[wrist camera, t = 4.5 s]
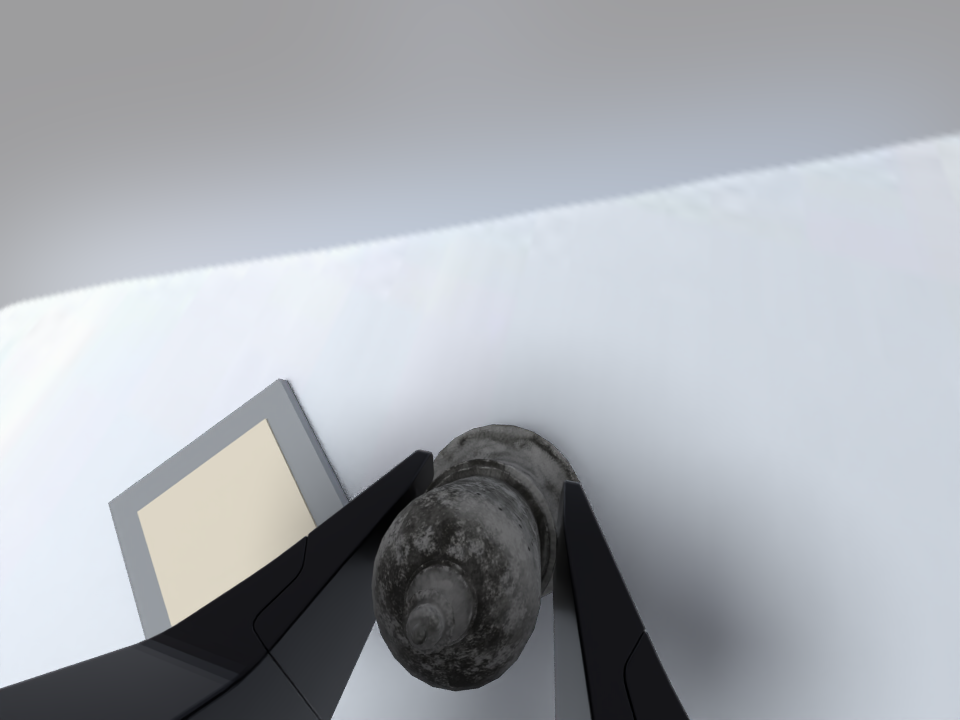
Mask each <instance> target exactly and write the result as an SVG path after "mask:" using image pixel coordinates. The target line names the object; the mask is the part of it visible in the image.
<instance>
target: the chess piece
mask: <svg viewBox="0 0 960 720" xmlns="http://www.w3.org/2000/svg"><path fill="white" fill-rule="evenodd" d="M433 464H434V477H433V481H432V482H431V483H430V485H429V486H428V488H427V489H426V491H425V493H424V494H423V495H421V496H419V497H417V498H415V499H414V500H413V501H412V502H411V503H409V504H408V505H407V506H406V507H405V508H404V509H403V510H402V511H401V512H400V513H399V514H398V515H397V517H396V518H395V519H394V521H393V523H392V524H391V526H390V527H389V529H388V530H387V532H386V534H385V535H384V537H383V538H382V541H381V544H380V546H379V549H378V552H377V555H376V558H375V561H374V568H373V576H372V585H371V587H372V598H373V609H374V614H375V617H376V620H377V623H378V627H379V630H380V633H381V636H382V638H383V639H384V641H385V643H386V644H387V646H388V648H389V649H390V651H391V653H392V655H393V656H394V658H395V659H396V660H397V661H398V662H399V663H400V664H401V665H402V666H403V667H404V668H405V669H406V670H407V671H408V672H409V673H410V674H411V675H412V676H414V677H416V678H418V679H420V680H421V681H423V682H425V683H427V684H428V685H430V686H432V687H436V688H441V689H446V690H451V691H461V690H469V689H476V688H480V687H482V686H484V685H485V684H487V683H489V682H491V681H493V680H495V679H497V678H499V677H500V676H501V675H502V674H503V673H504V672H505V671H506V670H507V669H508V668H509V667H510V666H511V665H512V664H513V663H514V662H515V661H516V660H517V659H518V657H519V656H520V654H521V652H522V650H523V648H524V647H525V645H526V643H527V641H528V639H529V638H530V636H531V634H532V632H533V630H534V628H535V624H536V620H537V616H538V612H539V608H540V604H541V597H543V596H545V595H547V594H549V593H551V592H552V591H553V570H554V566H555V562H556V550H557V533H556V527H557V516H558V506H559V500H560V495H561V490H562V485H563V482H564V480H569V481H574V482H578V483H580V482H579V480H578V478H577V476H576V474H575V472H574V471H573V469H572V467H571V465H570V463H569V462H568V460H567V459H566V458H565V457H564V456H563V455H562V454H561V453H560V452H559V451H558V450H557V448H556V447H555V446H554V445H553V444H551V443H550V442H548V441H547V440H545V439H544V438H542V437H541V436H539V435H538V434H536V433H534V432H532V431H529V430H526V429H523V428H520V427H517V426H512V425H494V424H493V425H488V426H484V427H479V428H474V429H472V430H470V431H468V432H466V433H464V434H462V435H460V436H458V437H456V438H455V439H454V440H452V441H451V442H450V443H449V444H448V445H447V446H446V447H445V448H444V449H443V450H442V451H440V453H439V454H438V456H437V457H436V459H435V460H434V462H433Z"/></svg>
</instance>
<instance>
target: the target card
mask: <svg viewBox="0 0 960 720" xmlns="http://www.w3.org/2000/svg"><path fill="white" fill-rule="evenodd" d="M348 503H349V501H348V499H347V497H346V495H345V493H344V491H343V489H342V488H341V486H340V484H339V482H338V480H337V478H336V476H335V474H334V472H333V470H332V468H331V466H330V464H329V462H328V460H327V458H326V456H325V454H324V452H323V450H322V448H321V446H320V444H319V442H318V440H317V438H316V437H315V435H314V433H313V431H312V429H311V427H310V425H309V423H308V421H307V419H306V417H305V415H304V413H303V411H302V409H301V407H300V405H299V403H298V401H297V399H296V397H295V395H294V393H293V391H292V389H291V388H290V386H289V384H288V382H287V381H286V380H283V379H278V380H276V381H275V382H274V383H272V384H271V385H269V386H268V387H267V388H265V389H264V390H263V391H261V392H260V393H258V394H257V395H256V396H254V397H253V398H252V399H250V400H249V401H248V402H246V403H245V404H243V405H242V406H241V407H239V408H238V409H237V410H235V411H234V412H232V413H231V414H230V415H228V416H227V417H226V418H224V419H223V420H221V421H220V422H219V423H217V424H216V425H215V426H213V427H212V428H210V429H209V430H208V431H206V432H205V433H204V434H202V435H201V436H199V437H198V438H197V439H195V440H194V441H193V442H191V443H190V444H188V445H187V446H186V447H184V448H183V449H182V450H180V451H179V452H178V453H176V454H175V455H173V456H172V457H171V458H169V459H168V460H167V461H165V462H164V463H162V464H161V465H160V466H158V467H157V468H156V469H154V470H153V471H151V472H150V473H149V474H147V475H146V476H145V477H143V478H142V479H140V480H139V481H138V482H136V483H135V484H134V485H132V486H131V487H129V488H128V489H127V490H125V491H124V492H123V493H121V494H120V495H119V496H117V497H116V498H114V499H113V500H112V501H110V502H109V503H108V504H109V508H110V511H111V515H112V519H113V522H114V526H115V529H116V533H117V537H118V540H119V544H120V548H121V551H122V555H123V559H124V562H125V566H126V570H127V573H128V577H129V581H130V584H131V588H132V591H133V595H134V599H135V602H136V606H137V610H138V613H139V617H140V621H141V624H142V628H143V632H144V635H145V639H146V640H147V639H149V638H151V637H153V636H155V635H157V634H159V633H161V632H163V631H165V630H167V629H169V628H170V627H172V626H174V625H176V624H177V623H179V622H180V621H182V620H184V619H185V618H187V617H188V616H190V615H191V614H193V613H194V612H196V611H197V610H199V609H200V608H202V607H204V606H205V605H207V604H208V603H210V602H211V601H213V600H214V599H216V598H217V597H219V596H220V595H222V594H223V593H225V592H226V591H228V590H230V589H231V588H233V587H234V586H236V585H237V584H239V583H240V582H242V581H243V580H245V579H246V578H248V577H249V576H251V575H252V574H254V573H255V572H257V571H258V570H259V569H261V568H262V567H264V566H265V565H267V564H268V563H270V562H271V561H272V560H274V559H275V558H277V557H278V556H279V555H281V554H282V553H283V552H285V551H286V550H287V549H289V548H290V547H291V546H293V545H294V544H295V543H297V542H298V541H299V540H301V539H302V538H303V537H304V536H308V534H309V533H310V532H311V531H312V530H314V529H315V528H316V527H318V526H319V525H320V524H322V523H323V522H324V521H325V520H327V519H328V518H329V517H331V516H332V515H333V514H335V513H336V512H337V511H338V510H340V509H341V508H342V507H344V506H345V505H346V504H348Z"/></svg>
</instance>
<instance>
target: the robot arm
mask: <svg viewBox="0 0 960 720" xmlns="http://www.w3.org/2000/svg"><path fill="white" fill-rule="evenodd" d="M433 477H434V464H433V455H432V453H431V452H429V451H424V450H417V451H415V452H414V453H413V454H411V455H410V456H409V457H407V458H406V459H405V460H404V461H402V462H401V463H400V464H398V465H397V466H396V467H394V468H393V469H392V470H390V471H389V472H388V473H387V474H385V475H384V476H383V477H381V478H380V479H379V480H377V481H376V482H375V483H374V484H372V485H371V486H370V487H368V488H367V489H366V490H364V491H363V492H362V493H361V494H359V495H358V496H357V497H355V498H354V499H353V500H351V501H350V502H349V503H348V504H346V505H345V506H344V507H342V508H341V509H340V510H338V511H337V512H336V513H335V514H333V515H332V516H331V517H329V518H328V519H327V520H325V521H324V522H323V523H322V524H320V525H319V526H318V527H316V528H315V529H314V530H312V531H311V532H310V533H309V534H308V536H304V537H303V538H302V539H301V540H299V541H298V542H297V543H295V544H294V545H293V546H291V547H290V548H289V549H287V550H286V551H285V552H283V553H282V554H281V555H279V556H278V557H277V558H275V559H274V560H272V561H271V562H270V563H268V564H267V565H265V566H264V567H262V568H261V569H259V570H258V571H257V572H255V573H254V574H252V575H251V576H249V577H248V578H246V579H245V580H243V581H242V582H240V583H239V584H237V585H236V586H234V587H233V588H231V589H230V590H228V591H226V592H225V593H223V594H222V595H220V596H219V597H217V598H216V599H214V600H213V601H211V602H210V603H208V604H207V605H205V606H204V607H202V608H200V609H199V610H197V611H196V612H194V613H193V614H191V615H190V616H188V617H187V618H185V619H184V620H182V621H180V622H179V623H177V624H176V625H174V626H172V627H170V628H169V629H167V630H165V631H163V632H161V633H159V634H157V635H155V636H153V637H151V638H149V639H147V640H144V641H142V642H139V643H137V644H134V645H131V646H128V647H125V648H122V649H119V650H116V651H113V652H110V653H107V654H104V655H101V656H98V657H95V658H92V659H89V660H86V661H83V662H80V663H77V664H74V665H71V666H68V667H64V668H61V669H58V670H55V671H52V672H49V673H46V674H43V675H40V676H37V677H34V678H31V679H28V680H25V681H22V682H19V683H16V684H13V685H10V686H7V687H4V688H1V689H0V720H331V718H332V715H333V713H334V711H335V709H336V707H337V704H338V702H339V700H340V698H341V696H342V693H343V691H344V689H345V687H346V685H347V682H348V680H349V678H350V676H351V674H352V671H353V669H354V667H355V665H356V663H357V660H358V658H359V656H360V654H361V652H362V649H363V647H364V645H365V643H366V641H367V638H368V636H369V634H370V632H371V630H372V627H373V625H374V623H375V621H376V617H375V614H374V609H373V598H372V587H371V585H372V576H373V568H374V561H375V558H376V555H377V552H378V549H379V546H380V544H381V541H382V538H383V537H384V535H385V534H386V532H387V530H388V529H389V527H390V526H391V524H392V523H393V521H394V519H395V518H396V517H397V515H398V514H399V513H400V512H401V511H402V510H403V509H404V508H405V507H406V506H407V505H408V504H409V503H411V502H412V501H413V500H414V499H415V498H417V497H419V496H421V495H423V494H424V493H425V491H426V489H427V488H428V486H429V485H430V483H431V482H432V481H433ZM556 533H557V550H556V562H555V566H554V570H553V614H554V668H555V720H690V719H689V717H688V715H687V713H686V712H685V710H684V708H683V706H682V704H681V702H680V700H679V698H678V696H677V694H676V693H675V691H674V689H673V687H672V685H671V682H670V680H669V678H668V676H667V674H666V672H665V670H664V668H663V666H662V664H661V661H660V659H659V657H658V655H657V653H656V651H655V648H654V646H653V644H652V642H651V640H650V637H649V635H648V633H647V632H644V631H645V627H644V624H643V622H642V620H641V618H640V615H639V613H638V611H637V609H636V606H635V604H634V602H633V600H632V598H631V595H630V593H629V591H628V589H627V586H626V584H625V582H624V580H623V577H622V575H621V573H620V571H619V568H618V566H617V564H616V562H615V560H614V557H613V555H612V553H611V551H610V548H609V546H608V544H607V542H606V539H605V537H604V535H603V533H602V531H601V528H600V526H599V524H598V522H597V519H596V517H595V515H594V513H593V510H592V508H591V506H590V504H589V501H588V499H587V497H586V495H585V493H584V490H583V488H582V486H581V484H580V483H578V482H574V481H569V480H564V482H563V485H562V490H561V495H560V500H559V506H558V516H557V527H556Z"/></svg>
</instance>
